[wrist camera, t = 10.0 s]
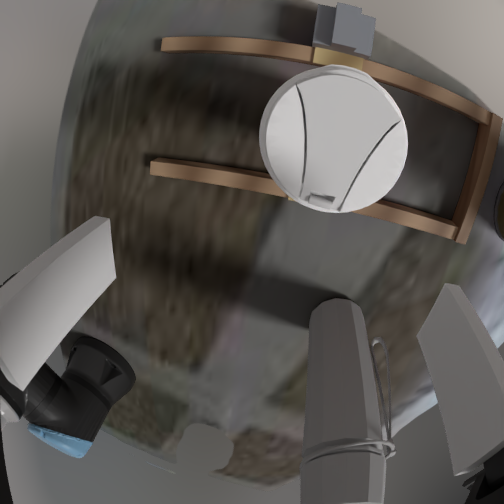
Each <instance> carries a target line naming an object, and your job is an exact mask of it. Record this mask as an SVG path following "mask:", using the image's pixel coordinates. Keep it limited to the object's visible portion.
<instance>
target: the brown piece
mask: <svg viewBox="0 0 504 504" xmlns="http://www.w3.org/2000/svg"><path fill="white" fill-rule="evenodd" d="M161 51H163V52H166V53H215V54H233V55H246V56H256V57H265V58H273V59H280V60H287V61H293V62H299V63H305V64H310V65H315V66H320V67H323V66H327V65H331V64H333V65H344V66H348V67H352V68H355V69H358V70H360V71H363V72H365V73H367V74H368V75H369V76H370V77H372V78H373V79H374V80H375V81H378V82H381V83H384V84H387V85H390V86H393V87H396V88H399V89H402V90H405V91H408V92H410V93H413V94H416V95H418V96H421V97H423V98H426V99H428V100H431V101H433V102H435V103H438V104H440V105H442V106H445V107H447V108H449V109H451V110H453V111H456V112H458V113H460V114H462V115H464V116H466V117H468V118H470V119H472V120H474V121H476V122H478V123H479V127H478V132H477V136H476V141H475V145H474V149H473V153H472V157H471V161H470V165H469V168H468V172H467V175H466V179H465V182H464V185H463V189H462V192H461V195H460V198H459V201H458V204H457V207H456V210H455V212H454V215H453V218H452V221H451V220H448V219H445V218H442V217H439V216H435V215H432V214H429V213H426V212H423V211H419V210H416V209H413V208H409V207H406V206H403V205H399V204H396V203H392V202H389V201H385V200H381V199H379V200H378V201H376V202H375V203H373V204H371V205H369V206H367V207H364V208H362V209H359V210H355V211H350V212H354V213H358V214H362V215H366V216H370V217H374V218H378V219H382V220H386V221H390V222H393V223H397V224H401V225H405V226H408V227H412V228H415V229H419V230H422V231H426V232H429V233H433V234H436V235H440V236H443V237H446V238H449V239H453V240H454V241H455V242H458V243H461V244H464V245H465V243H466V241H467V239H468V236H469V234H470V231H471V229H472V226H473V224H474V221H475V218H476V216H477V213H478V210H479V207H480V204H481V201H482V198H483V195H484V192H485V189H486V186H487V183H488V179H489V176H490V172H491V169H492V165H493V161H494V157H495V153H496V149H497V145H498V140H499V136H500V131H501V126H502V120H503V119H502V118H501V117H499V116H497V115H496V114H494V113H491V112H489V111H487V110H485V109H484V108H482V107H480V106H478V105H476V104H474V103H473V102H471V101H469V100H467V99H465V98H463V97H461V96H459V95H457V94H455V93H453V92H451V91H448V90H446V89H444V88H442V87H440V86H437V85H435V84H433V83H430V82H428V81H426V80H423V79H421V78H418V77H416V76H413V75H410V74H408V73H405V72H402V71H399V70H397V69H394V68H391V67H388V66H385V65H382V64H378V63H375V62H372V61H369V60H365V59H364V58H360V57H357V56H353V55H349V54H345V53H341V52H337V51H332V50H328V49H323V48H318V47H310V46H304V45H298V44H292V43H285V42H278V41H270V40H260V39H250V38H235V37H167V38H163V39H162V45H161ZM150 175H157V176H164V177H172V178H179V179H185V180H192V181H198V182H205V183H211V184H217V185H223V186H229V187H234V188H240V189H246V190H251V191H256V192H262V193H267V194H272V195H277V196H282V197H287V198H288V200H292V201H295V200H293V199H292V198H291V197H289V196H288V195H287V194H286V193H284V192H283V191H282V190H281V188H280V187H279V186H278V185H277V184H276V183H275V181H274V180H273V179H272V177H271V176H270V174H267V173H262V172H256V171H251V170H245V169H239V168H233V167H227V166H220V165H213V164H207V163H199V162H192V161H184V160H176V159H168V158H157V159H155V160H152V161H151V165H150Z"/></svg>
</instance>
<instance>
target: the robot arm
mask: <svg viewBox="0 0 504 504" xmlns="http://www.w3.org/2000/svg"><path fill="white" fill-rule="evenodd" d="M115 278H116V273H115V265H114V257H113V249H112V239H111V228H110V219H109V218H104V217H98V216H94V217H92V218H91V219H90V220H88V221H87V222H85V223H84V224H82V225H81V226H79V227H78V228H76V229H75V230H74V231H72V232H71V233H69V234H68V235H67V236H65V237H64V238H62V239H61V240H60V241H58V242H57V243H56V244H54V245H53V246H52V247H50V248H49V249H48V250H46V251H45V252H44V253H42V254H41V255H40V256H38V257H37V258H36V259H35V260H33V261H32V262H31V263H30V264H28V265H27V266H26V267H25V268H23V269H22V270H21V271H20V272H18V273H16V274H14V275H12V276H11V277H10V278H9V279H7V280H6V281H5V282H4V283H3V285H0V504H13V501H12V496H11V492H10V487H9V483H8V477H7V472H6V466H5V459H4V452H3V443H2V430H3V428H4V427H5V425H6V424H7V423H8V422H18V421H19V420H20V418H21V417H22V416H23V417H25V418H26V419H27V420H28V421H29V422H30V423H28V430H29V431H30V432H31V433H32V434H34V435H35V436H36V437H38V438H39V439H41V440H42V441H44V442H45V443H47V444H49V445H51V446H52V447H54V448H56V449H57V450H59V451H61V452H63V453H65V454H68V455H70V456H72V457H75V458H81V457H83V456H85V454H86V453H87V451H88V449H89V448H90V446H91V445H92V444H93V441H94V439H95V437H96V435H97V433H98V431H99V429H100V427H101V426H102V424H103V422H104V420H105V418H106V416H107V414H108V412H109V410H110V409H111V407H112V405H113V404H115V403H116V402H117V401H118V400H119V399H121V398H122V397H123V396H124V395H125V394H127V393H128V392H129V391H130V390H131V388H132V387H133V385H134V383H135V380H136V377H135V374H134V371H133V370H132V368H131V366H130V365H129V364H128V363H127V361H126V360H125V359H124V358H123V357H122V356H121V355H120V354H118V353H117V352H116V351H115V350H113V349H112V348H111V347H109V346H108V345H106V344H104V343H102V342H100V341H98V340H96V339H93V338H89V337H81V338H79V339H78V340H77V341H76V343H75V344H74V345H73V347H72V350H71V353H70V356H69V360H68V363H67V367H66V370H65V372H64V373H63V375H62V376H61V378H60V377H59V376H58V375H57V374H56V373H55V372H54V371H53V370H52V369H51V368H50V367H49V366H48V365H47V364H46V363H45V361H46V360H47V358H48V357H49V356H50V355H51V353H52V352H53V351H54V349H55V348H56V347H57V346H58V344H59V343H60V342H61V341H62V340H63V338H64V337H65V336H66V335H67V333H68V332H69V331H70V330H71V329H72V327H73V326H74V325H75V324H76V323H77V321H78V320H79V319H80V318H81V317H82V316H83V314H84V313H85V312H86V311H87V310H88V309H89V307H90V306H91V305H92V304H93V303H94V302H95V301H96V299H97V298H98V297H99V296H100V295H101V294H102V293H103V292H104V290H105V289H106V288H107V287H108V286H109V285H110V284H111V283H112V282H113V281H114V279H115ZM417 338H418V341H419V344H420V346H421V349H422V352H423V355H424V358H425V361H426V364H427V367H428V370H429V373H430V377H431V380H432V383H433V386H434V390H435V393H436V397H437V400H438V404H439V408H440V411H441V415H442V419H443V423H444V428H445V432H446V436H447V441H448V445H449V450H450V455H451V461H452V466H453V472H454V476H456V475H460V474H464V473H468V472H471V471H472V470H474V469H475V468H477V467H478V466H480V465H481V464H482V463H483V464H484V469H483V470H481V471H480V472H478V473H477V474H475V475H474V476H472V477H471V478H469V479H468V480H466V481H465V482H464V484H463V486H464V487H465V486H466V485H468V484H470V483H471V482H473V481H475V482H474V483H473V484H472V485H470V486H469V487H468V488H467V489H469V490H470V493H469V496H468V498H467V500H466V502H465V504H504V361H503V359H502V358H501V356H500V354H499V352H498V350H497V348H496V346H495V344H494V342H493V340H492V339H491V337H490V335H489V333H488V331H487V330H486V328H485V326H484V325H483V323H482V321H481V319H480V318H479V316H478V315H477V313H476V311H475V310H474V308H473V306H472V305H471V303H470V302H469V300H468V299H467V297H466V296H465V294H464V292H463V291H462V289H461V288H460V286H458V285H453V284H448V283H445V284H444V286H443V288H442V290H441V292H440V294H439V296H438V298H437V300H436V302H435V304H434V306H433V308H432V310H431V311H430V313H429V315H428V317H427V319H426V320H425V322H424V324H423V326H422V327H421V329H420V331H419V333H418V334H417Z"/></svg>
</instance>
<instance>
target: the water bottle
mask: <svg viewBox="0 0 504 504" xmlns="http://www.w3.org/2000/svg"><path fill="white" fill-rule="evenodd" d="M378 342H380V343H381V345H382V346H383V348H384V351H385V354H386V360H387V374H388V395H389V429H388V422H387V416H386V410H385V404H384V398H383V393H382V387H381V382H380V377H379V372H378V367H377V363H376V358H375V354H374V349H373V346H374V344H375V343H378ZM371 353H372V358H371ZM371 353H370V347H369V342H368V337H367V331H366V326H365V322H364V317H363V314H362V311H361V307H359V306H358V305H356V304H355V303H354V302H352V301H351V300H347V299H339V298H334V299H331V300H328V301H325V302H322V303H321V304H320V305H319V306H318V307H317V308H316V309H314V310H313V311H312V314H311V318H310V322H309V349H308V374H307V393H306V410H305V424H304V437H303V448H302V457H303V460H302V462H301V463H300V473H301V504H383V502H384V491H385V475H386V461H385V460H386V459H388V458H389V457H391V456H394V455H395V453H396V449H395V445H394V443H393V440H392V439H391V389H390V369H389V355H388V350H387V347H386V344H385V342H384V340H383V339H382V337H374V339H373V341H372V344H371ZM372 359H373V363H374V368H375V372H376V377H377V382H378V387H379V392H380V397H381V403H382V408H383V414H384V419H385V425H386V432H387V439H388V441H383V439H382V429H381V420H380V412H379V404H378V396H377V389H376V383H375V376H374V370H373V364H372ZM383 444H385V445H386V446H387V453H388V454H387V455H386V456H384V452H383Z"/></svg>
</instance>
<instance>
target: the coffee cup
mask: <svg viewBox="0 0 504 504" xmlns="http://www.w3.org/2000/svg"><path fill="white" fill-rule="evenodd" d="M259 144H260V150H261V155H262V158H263V161H264V164H265V166H266V168H267V170H268V172H269V174H270V176H271V177H272V179H273V180H274V181H275V183H276V184H277V185H278V186H279V187H280V188H281V190H282V191H283V192H284V193H286V194H287V195H288V196H289V197H291V198H292V199H293V200H295V201H297V202H299V203H300V204H302V205H304V206H307V207H309V208H312V209H314V210H319V211H323V212H332V213H341V212H350V211H355V210H359V209H362V208H364V207H367V206H369V205H371V204H373V203H375V202H376V201H378V200H379V199H381V198H382V197H383V196H384V195H386V194H387V193H388V191H389V190H390V189H391V188H392V187H393V186H394V184H395V183H396V181H397V180H398V178H399V176H400V174H401V172H402V170H403V167H404V164H405V160H406V157H407V148H408V138H407V130H406V126H405V121H404V119H403V116H402V114H401V111H400V109H399V108H398V106H397V104H396V103H395V101H394V99H393V98H392V97H391V96H390V95H389V93H388V92H387V91H386V90H385V89H384V88H383V87H381V86H380V85H379V84H378V83H377V82H376V81H375V80H374V79H373V78H372V77H370V76H369V75H368V74H367V73H365V72H363V71H360V70H358V69H355V68H352V67H348V66H344V65H333V64H331V65H327V66H323V67H319V68H315V69H311V70H307V71H305V72H302V73H300V74H298V75H295V76H294V77H292V78H291V79H289V80H288V81H286V82H285V83H284V84H283V85H282V86H281V87H280V88H278V89H277V91H276V92H275V93H274V94H273V96H272V97H271V98H270V100H269V102H268V104H267V106H266V108H265V109H264V112H263V116H262V119H261V123H260V130H259Z"/></svg>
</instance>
